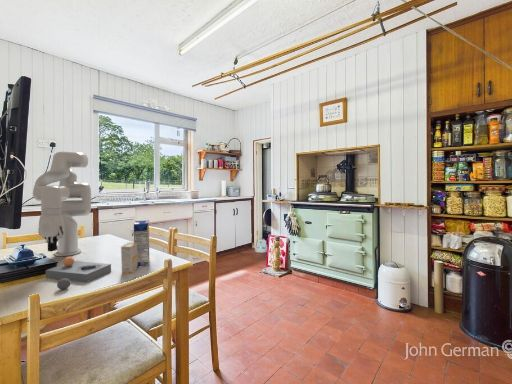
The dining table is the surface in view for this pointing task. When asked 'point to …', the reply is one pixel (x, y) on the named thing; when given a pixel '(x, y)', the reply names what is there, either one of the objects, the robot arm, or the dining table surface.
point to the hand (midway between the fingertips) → (52, 250)
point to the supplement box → (129, 257)
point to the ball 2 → (63, 283)
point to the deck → (79, 271)
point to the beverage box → (142, 242)
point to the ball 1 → (68, 261)
